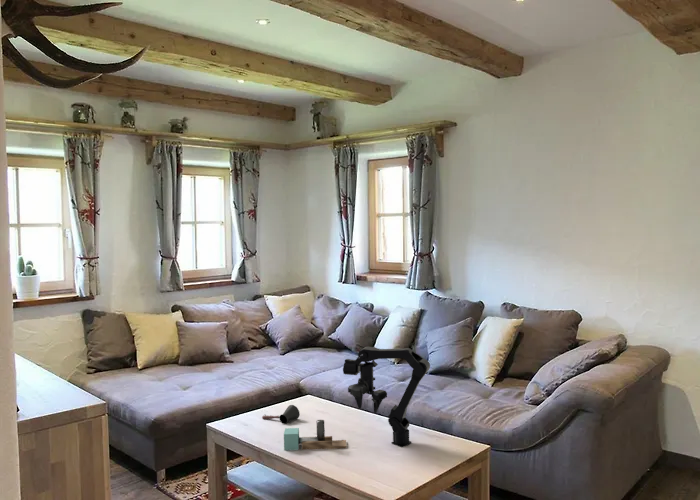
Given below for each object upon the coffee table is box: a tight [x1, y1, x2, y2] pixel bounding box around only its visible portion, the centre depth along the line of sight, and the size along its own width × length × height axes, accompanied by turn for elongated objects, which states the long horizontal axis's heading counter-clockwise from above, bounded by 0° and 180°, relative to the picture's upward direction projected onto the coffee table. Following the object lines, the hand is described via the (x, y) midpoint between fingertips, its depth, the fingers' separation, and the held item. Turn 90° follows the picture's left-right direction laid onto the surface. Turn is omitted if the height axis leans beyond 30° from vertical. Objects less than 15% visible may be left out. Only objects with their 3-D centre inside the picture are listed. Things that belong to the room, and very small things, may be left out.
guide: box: [301, 435, 347, 451], centre depth 250 cm, size 19×7×3 cm, turn 91°
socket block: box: [283, 427, 300, 451], centre depth 249 cm, size 6×7×7 cm
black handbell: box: [261, 404, 301, 425], centre depth 285 cm, size 8×18×8 cm
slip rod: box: [298, 419, 326, 445], centre depth 249 cm, size 15×3×10 cm, turn 91°
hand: (367, 410), depth 255 cm, fingers open, 9 cm apart
